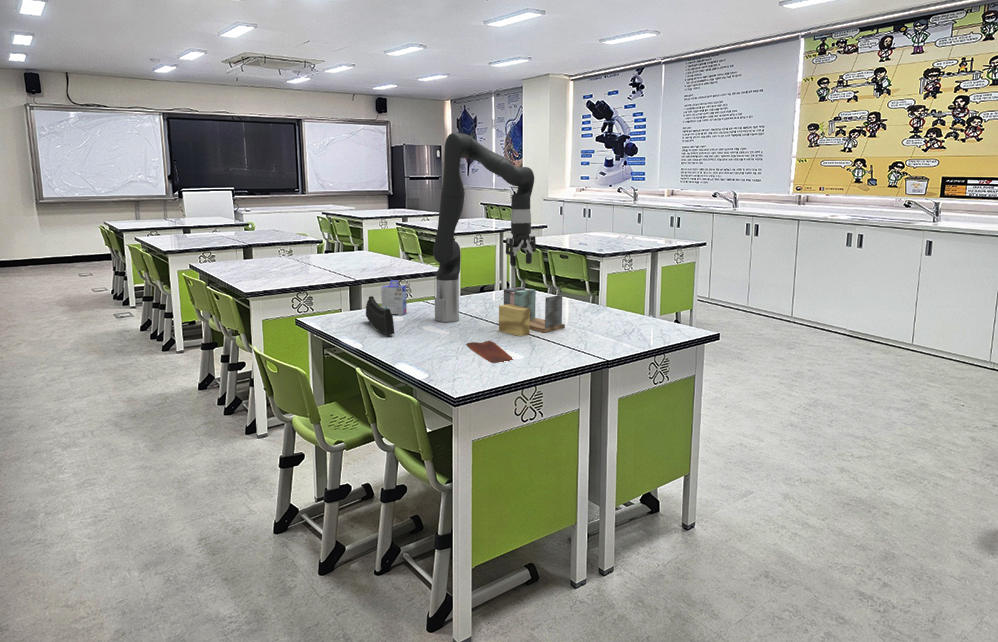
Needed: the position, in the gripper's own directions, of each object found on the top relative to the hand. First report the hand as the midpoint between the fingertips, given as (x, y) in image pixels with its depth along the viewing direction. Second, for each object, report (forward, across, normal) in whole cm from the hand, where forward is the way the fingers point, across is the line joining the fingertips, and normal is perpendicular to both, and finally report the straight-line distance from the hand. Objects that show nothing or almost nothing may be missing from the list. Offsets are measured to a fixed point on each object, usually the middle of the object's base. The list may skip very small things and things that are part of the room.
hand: (521, 264), depth 259 cm
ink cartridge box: (+25, +14, -62) cm, 68 cm away
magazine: (+26, +35, -43) cm, 61 cm away
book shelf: (+26, -12, -5) cm, 29 cm away
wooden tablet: (+27, +29, +12) cm, 42 cm away
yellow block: (+26, +2, -2) cm, 26 cm away
